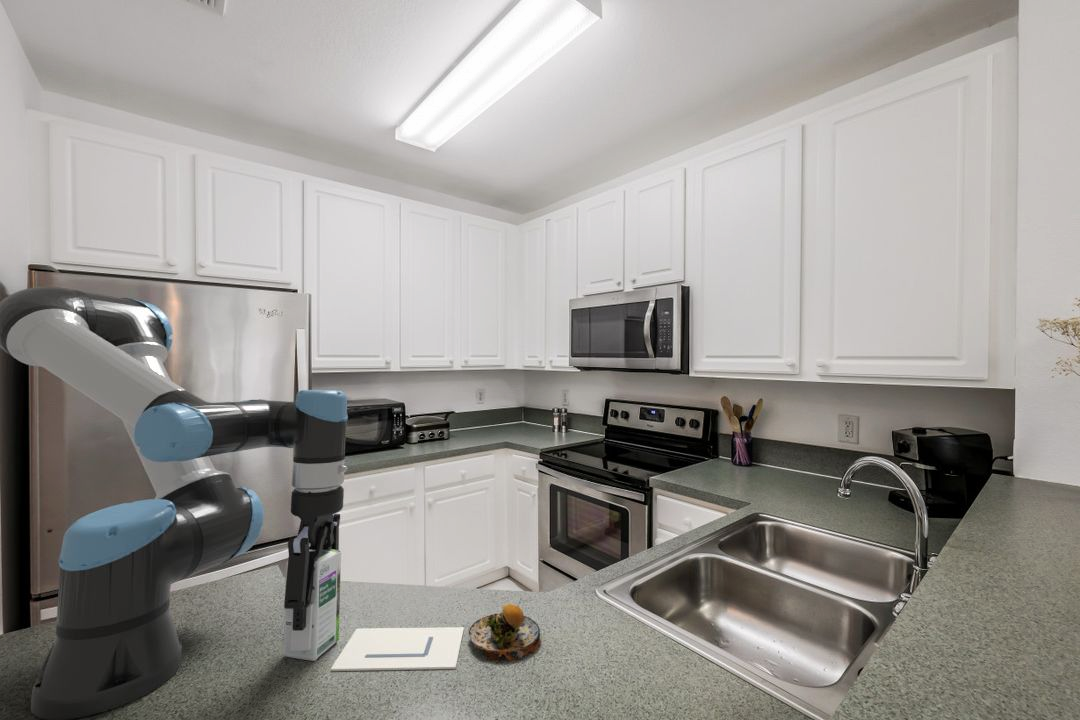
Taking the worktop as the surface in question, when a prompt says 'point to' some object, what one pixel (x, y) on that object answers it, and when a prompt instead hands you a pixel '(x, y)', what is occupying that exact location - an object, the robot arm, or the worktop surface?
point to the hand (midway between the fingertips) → (311, 635)
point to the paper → (401, 649)
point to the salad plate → (506, 634)
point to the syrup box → (320, 607)
